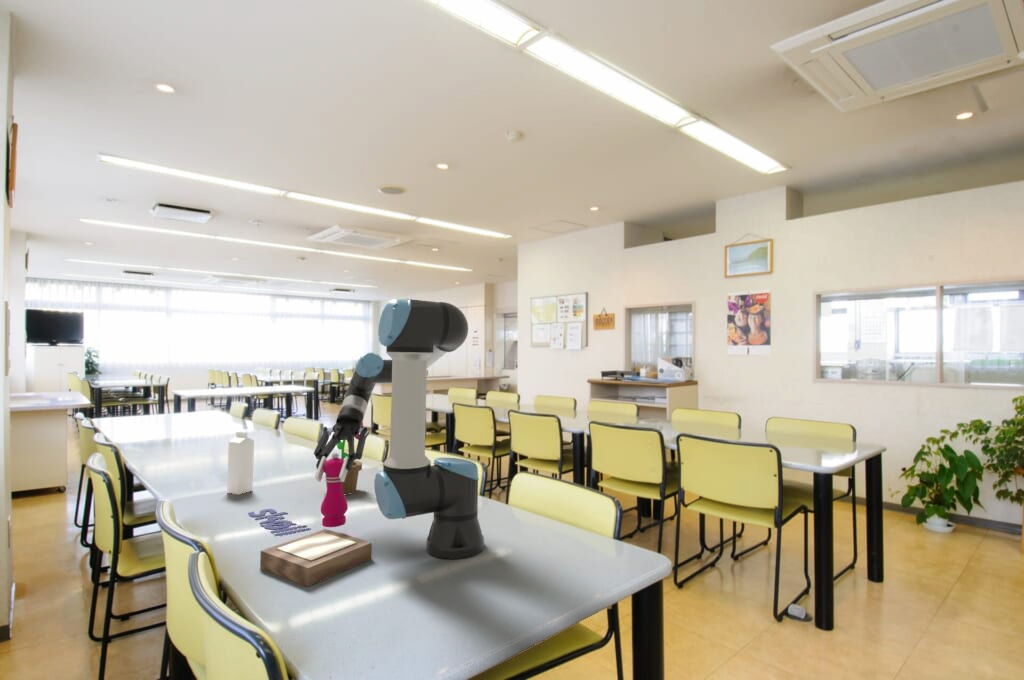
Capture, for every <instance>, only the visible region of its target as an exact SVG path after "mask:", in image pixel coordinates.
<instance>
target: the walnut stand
mask: <svg viewBox="0 0 1024 680" xmlns="http://www.w3.org/2000/svg"><path fill="white" fill-rule="evenodd" d="M372 544H373V543H372V542H371V541H368V540H364V539H360V538H358V537H354V536H351V535H347V534H345V533H340V532H337V531H333V530H330V529H327V528H324V529H321V530H318V531H315V532H313V533H310V534H305V535H303V536H301V537H297V538H294V539H291V540H288V541H285V542H282V543H279V544H276V545H273V546H271V547H267V548H265V549H262V550H260V558H259V559H260V560H259V563H260V564H259V565H260V566H259V569H262V570H265V571H268V572H270V573H272V574H274V575H278V576H280V577H282V578H285V579H287V580H290V581H292V582H295V583H298V584H299V583H300V584H299V585H302V584H303V586H304V585H305V586H304V587H307V586H308V587H310V586H309V585H311V584H313V583H315V584H317V583H319V582H318V581H320V580H322V581H324V580H326V579H325V578H327V577H329V578H331V577H333V576H335V575H334V574H336V575H338V574H340V573H342V572H341V571H343V572H345V571H346V569H347V570H349V569H351V568H350V567H352V568H353V566H354V567H356V566H359V565H361V564H363V563H365V562H367V560H368V561H370V560H372V551H373V549H372V548H373V547H372V546H373V545H372ZM369 559H370V560H369ZM362 562H363V563H362ZM360 563H361V564H360ZM358 564H359V565H358ZM348 568H349V569H348ZM344 570H345V571H344ZM339 572H340V573H339ZM337 573H338V574H337ZM332 575H333V576H332ZM330 576H331V577H330ZM323 579H324V580H323ZM327 579H328V578H327ZM316 582H317V583H316ZM320 582H321V581H320ZM313 585H314V584H313ZM311 586H312V585H311Z"/></svg>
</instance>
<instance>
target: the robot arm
mask: <svg viewBox="0 0 1024 680" xmlns="http://www.w3.org/2000/svg"><path fill="white" fill-rule="evenodd" d="M378 322H379V323H378V333H377V334H378V335H377V336H378V341H379V343H380V344H381V345H382V346H384V347H386V348H385V349H386V351H385V352H386V354H387V355H388V357H390V359H383V358H382V356H380V355H379V354H377V353H374V352H366V353H364V354H362V355H361V356H360V357H359V359H358V360H357V363H356V365H355V368H354V371H353V375H352V377H351V379H350V381H349V385H348V387H347V390H346V393H345V397H344V398H343V401H342V404H341V407H340V408H339V409H340V410H339V412H338V415H337V417H336V419H335V423H334V424H333V426H332V427H327V426H324V427H322V434H321V436H320V439H319V441H318V442H317V445H316V447H315V450H314V452H313V455H314V456H315V458H316V460H317V462H316V465H315V467H316V469H317V471H316V473H315V476H314V477H315V479H316V481H317V482H319V483H321V481H322V479H323V476H324V474H325V473H324V465H325V463H326V462H327V461H328V460H327V459H328V457H329V456H330V454H331V453H332V452H333V450H334V449H335V448H336V447H337V444H338V443H339V442H340V441H341V442H342V441H343V440H345V441H347V440H348V442H347V447H348V450H347V451H348V453H347V454H348V455H349V457H345V458H344V463H343V466H342V469H341V472H340V475H339V478H340V480H341V482H344V481H345V478H346V474H347V471H348V470H351V468H352V465H353V462H354V461H358V460H359V461H360V460H361V459H362V458H363V453H364V448H365V445H366V439H367V437H368V436H369V434H370V432H369V430H368V427H366V426H365V427H361V425H362V422H363V421H364V417H365V415H366V412H367V410H368V409H367V408H368V404H369V401H370V398H371V395H372V393H373V390H374V388H375V386H376V384H391V398H390V399H391V402H390V405H391V406H390V433H389V434H390V438H389V439H390V440H389V441H390V442H389V444H390V445H389V456H388V457H387V458H386V459H385V460H383V463H382V464H383V468H382V470H379V471H378V472H377V473H376V474H375V477H374V494H375V499H376V502H377V505H378V508H379V511H380V512H381V514H382V515H383V516H384V517H385V518H386V519H388V520H396V519H397V520H398V519H406V518H412V517H417V516H422V515H427V514H433V519H432V522H431V526H430V529H429V532H428V535H427V538H426V541H425V542H426V547H425V548H426V550H425V551H426V552H427V553H428V554H429V555H430V556H433V557H435V558H440V559H450V560H451V559H453V560H457V559H465V558H466V559H467V558H470V557H473V556H476V555H478V554H480V553H482V551H484V549H485V538H484V535H483V533H482V532H483V531H482V529H481V524H480V521H479V518H478V516H479V515H478V513H479V510H478V509H479V503H478V502H479V500H478V499H479V497H478V496H479V469H478V466H477V464H476V463H475V462H474V461H471V460H468V459H464V458H458V457H437V458H434V461H433V465H431V464H432V462H431V460H430V458H428V457H427V455H426V421H427V381H428V380H427V379H428V378H427V377H428V375H427V373H428V371H427V370H428V368H429V367H431V366H432V365H433V364H435V363H436V362H437V361H438V360H439V359H441V358H442V357H443V356H444V355H445V354H446V353H452V352H454V351H456V350H457V349H458V348H460V347H461V346H462V345H463V344H464V343H465V341H466V339H467V337H468V333H469V324H468V320H467V318H466V315H465V314H464V313H463V312H462V310H461V309H460V308H459V307H457V306H455V305H454V304H451V303H450V302H446V301H445V302H444V301H432V300H431V301H430V300H420V299H419V300H418V299H412V298H405V299H403V298H401V299H400V298H398V299H397V298H395V299H391V300H389V301H388V302H387V303H386V304H385V306H384V307H383V310H382V312H381V314H380V318H379V321H378ZM362 426H363V425H362ZM332 433H333V434H332ZM358 433H359V434H360V436H359V440H358V439H357V445H356V448H355V436H356V435H357V434H358ZM330 436H331V438H330ZM329 439H330V440H329Z"/></svg>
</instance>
